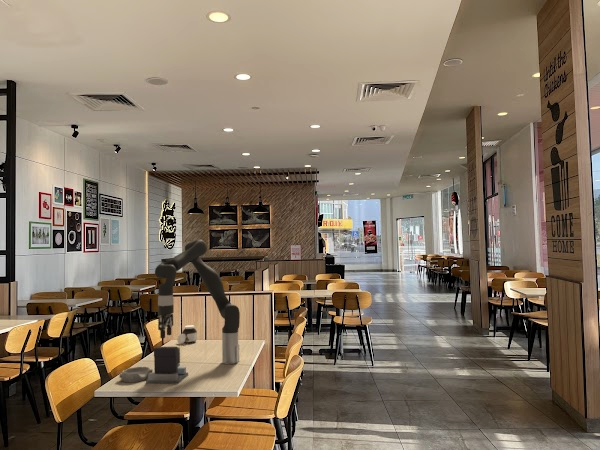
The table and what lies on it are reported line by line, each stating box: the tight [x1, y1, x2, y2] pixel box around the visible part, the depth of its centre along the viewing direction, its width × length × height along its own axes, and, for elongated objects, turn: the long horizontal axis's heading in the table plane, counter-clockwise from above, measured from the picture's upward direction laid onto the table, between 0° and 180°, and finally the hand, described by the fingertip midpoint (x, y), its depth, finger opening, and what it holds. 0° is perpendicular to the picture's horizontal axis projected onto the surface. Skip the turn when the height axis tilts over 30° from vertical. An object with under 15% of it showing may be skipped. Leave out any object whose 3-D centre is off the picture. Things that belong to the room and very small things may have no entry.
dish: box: [119, 366, 154, 383], centre depth 246 cm, size 14×14×5 cm
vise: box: [145, 372, 189, 385], centre depth 244 cm, size 16×16×4 cm
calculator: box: [153, 346, 178, 373], centre depth 243 cm, size 11×4×15 cm, turn 87°
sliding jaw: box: [176, 346, 187, 374], centre depth 254 cm, size 11×14×11 cm
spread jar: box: [177, 324, 198, 345], centre depth 340 cm, size 12×11×12 cm
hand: (166, 336), depth 243 cm, fingers open, 8 cm apart
